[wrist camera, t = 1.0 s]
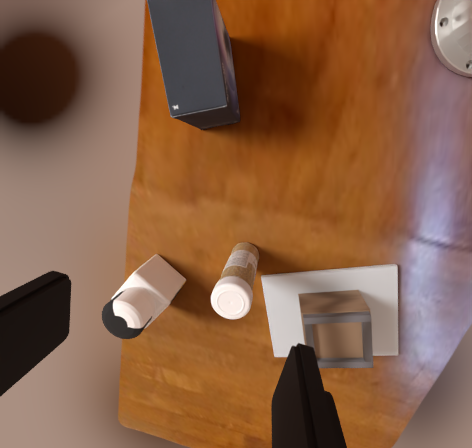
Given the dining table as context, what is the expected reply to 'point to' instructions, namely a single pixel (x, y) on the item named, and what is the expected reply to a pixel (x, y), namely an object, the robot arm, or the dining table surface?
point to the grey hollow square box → (337, 328)
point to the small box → (195, 62)
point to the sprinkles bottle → (236, 283)
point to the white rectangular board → (358, 278)
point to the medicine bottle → (142, 298)
